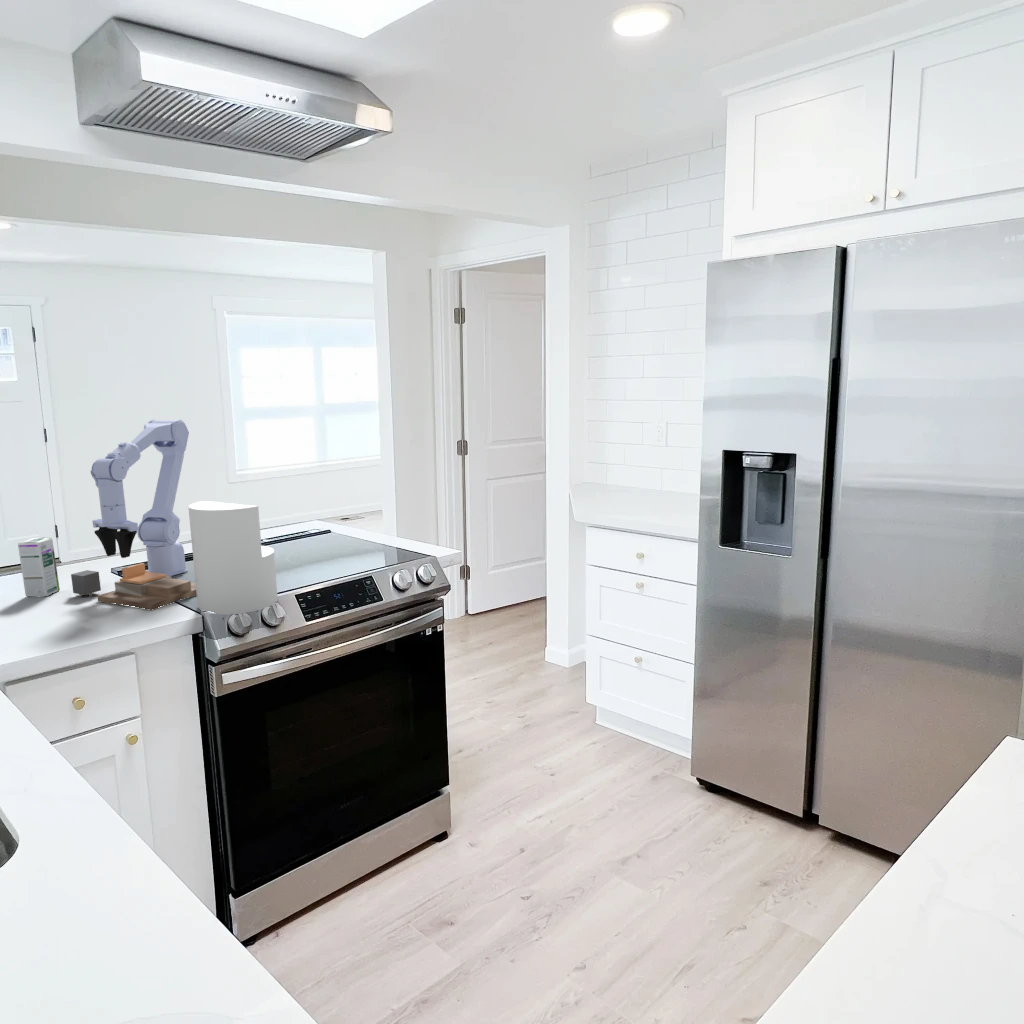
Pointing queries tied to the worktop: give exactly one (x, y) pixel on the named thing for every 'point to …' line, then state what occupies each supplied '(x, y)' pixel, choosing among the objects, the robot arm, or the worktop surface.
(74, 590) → the plug
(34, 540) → the syrup box
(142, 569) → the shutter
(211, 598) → the cylinder
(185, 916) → the worktop surface
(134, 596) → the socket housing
